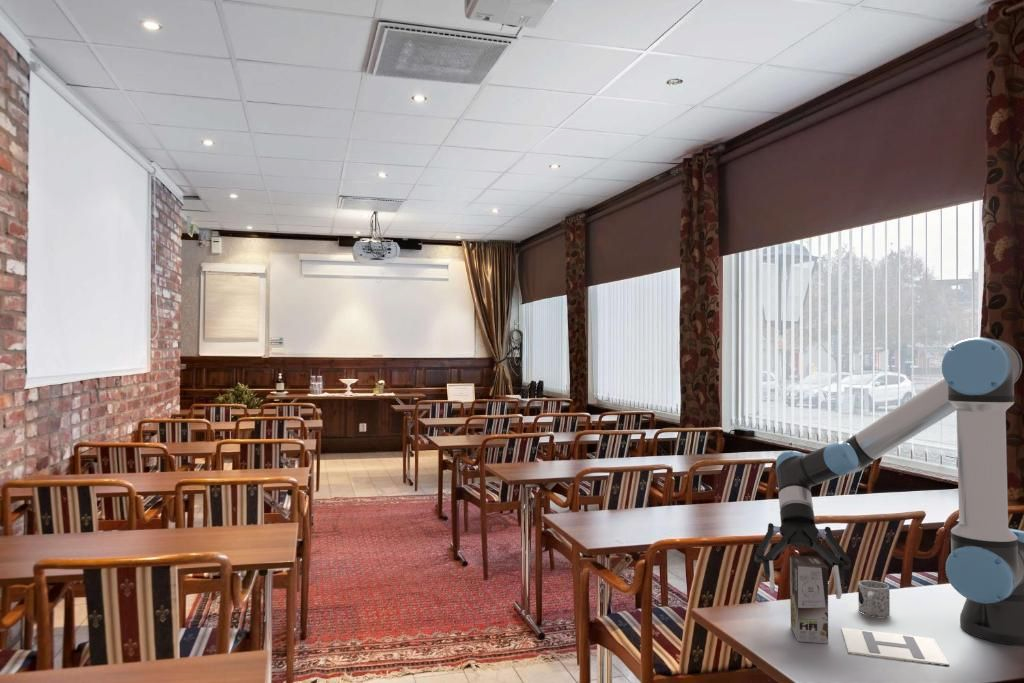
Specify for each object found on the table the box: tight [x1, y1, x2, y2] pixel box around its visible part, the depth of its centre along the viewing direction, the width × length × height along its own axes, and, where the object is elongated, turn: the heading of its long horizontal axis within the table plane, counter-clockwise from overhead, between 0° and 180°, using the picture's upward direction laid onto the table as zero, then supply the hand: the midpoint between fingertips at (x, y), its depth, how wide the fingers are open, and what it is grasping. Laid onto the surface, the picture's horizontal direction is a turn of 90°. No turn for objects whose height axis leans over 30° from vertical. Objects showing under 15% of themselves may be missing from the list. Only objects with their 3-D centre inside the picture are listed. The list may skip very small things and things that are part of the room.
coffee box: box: [789, 555, 829, 644], centre depth 157 cm, size 9×6×16 cm
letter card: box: [840, 627, 950, 666], centre depth 150 cm, size 18×14×1 cm
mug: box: [857, 580, 891, 618], centre depth 170 cm, size 10×7×7 cm, turn 145°
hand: (805, 593), depth 157 cm, fingers open, 13 cm apart
